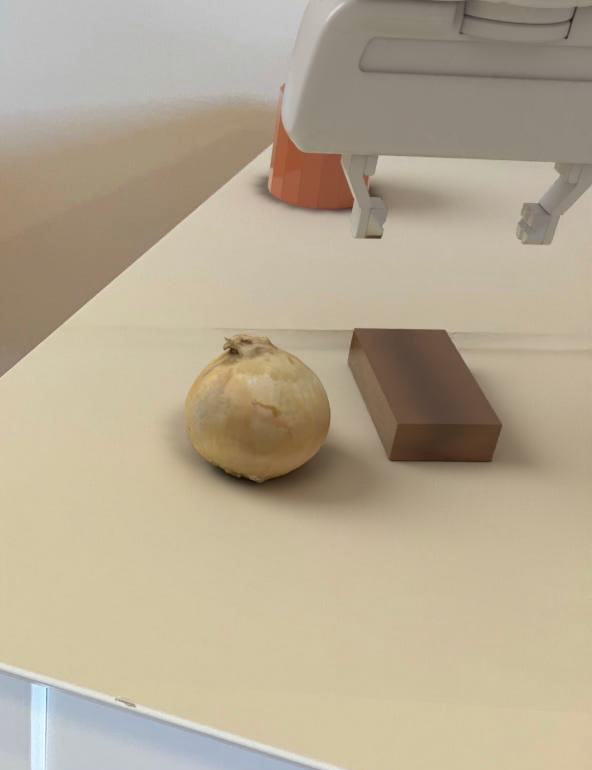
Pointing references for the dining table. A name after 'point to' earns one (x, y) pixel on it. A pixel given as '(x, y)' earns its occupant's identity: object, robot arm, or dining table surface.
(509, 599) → the dining table surface
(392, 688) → the dining table surface
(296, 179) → the terracotta cup
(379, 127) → the robot arm
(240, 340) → the onion
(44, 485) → the dining table surface
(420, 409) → the brown wooden block
